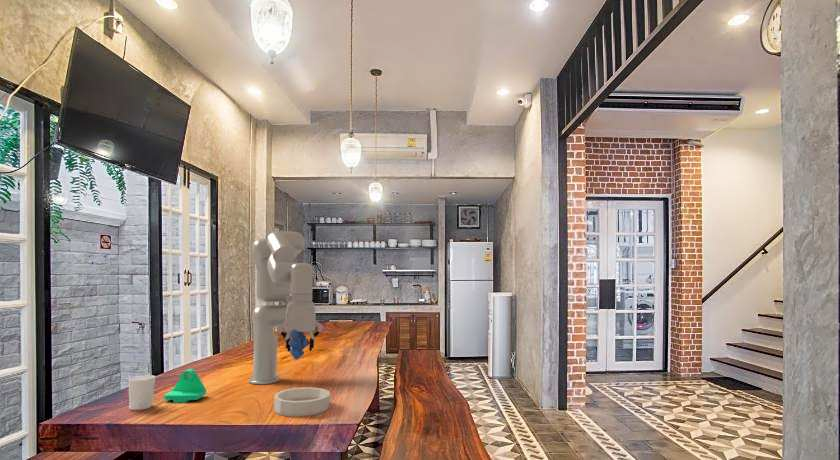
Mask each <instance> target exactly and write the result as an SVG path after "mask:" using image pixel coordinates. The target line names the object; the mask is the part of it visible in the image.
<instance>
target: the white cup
mask: <svg viewBox="0 0 840 460" xmlns="http://www.w3.org/2000/svg"><path fill="white" fill-rule="evenodd" d="M155 383H156V375H152V374H143V375H136V376H131V377H129V378H128V409H129V410H131V411H141V410H146V409H150V408H151V407H152V406H153V401H154V400H153V398H154V392H155Z"/></svg>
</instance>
